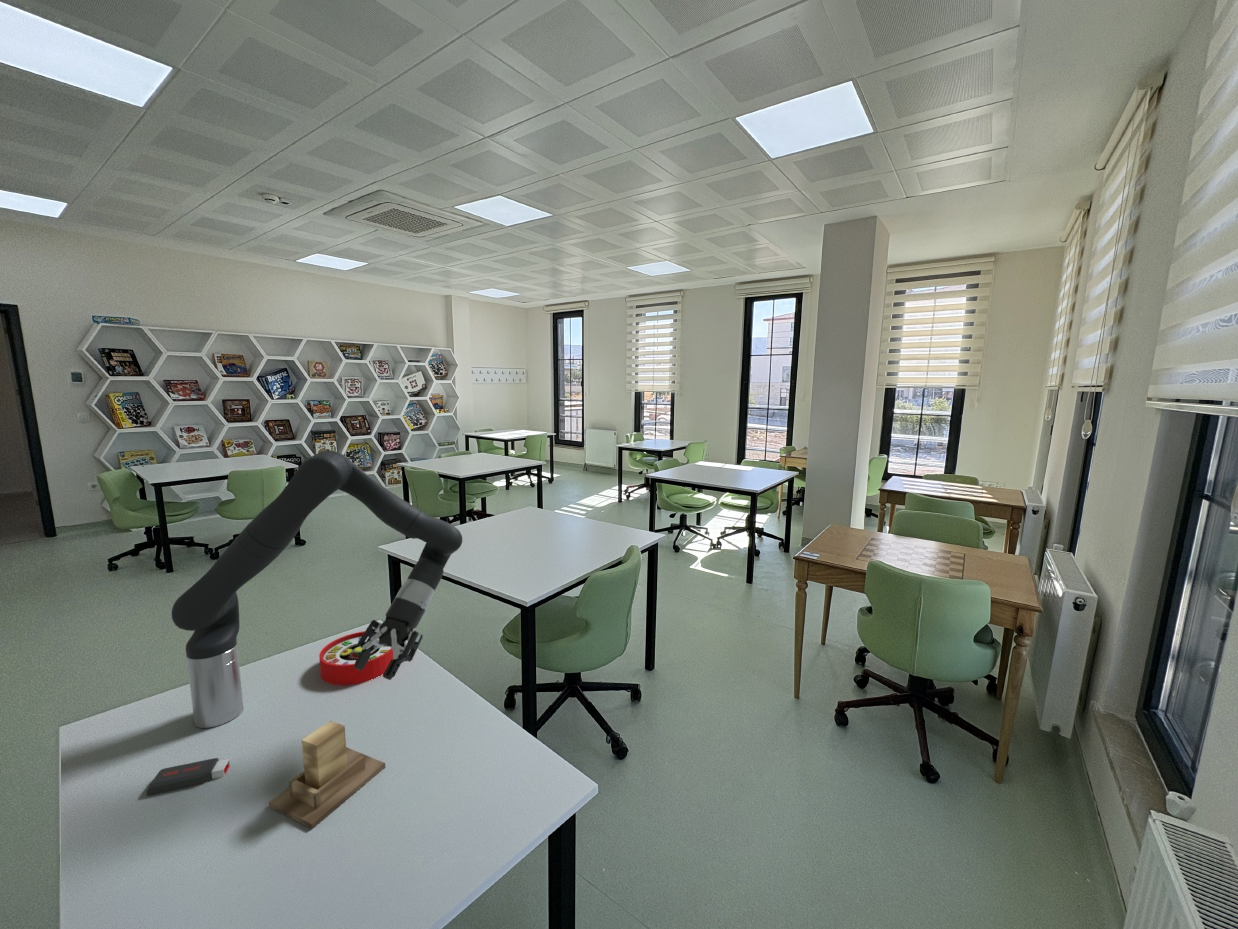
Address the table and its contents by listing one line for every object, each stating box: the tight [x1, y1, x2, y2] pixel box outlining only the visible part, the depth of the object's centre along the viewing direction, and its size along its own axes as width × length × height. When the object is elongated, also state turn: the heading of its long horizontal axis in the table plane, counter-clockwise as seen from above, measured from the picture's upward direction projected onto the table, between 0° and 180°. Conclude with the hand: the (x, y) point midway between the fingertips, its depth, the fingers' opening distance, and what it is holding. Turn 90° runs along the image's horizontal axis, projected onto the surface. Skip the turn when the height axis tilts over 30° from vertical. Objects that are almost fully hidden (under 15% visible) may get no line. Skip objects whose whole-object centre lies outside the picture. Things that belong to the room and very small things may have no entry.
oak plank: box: [301, 720, 348, 790], centre depth 96 cm, size 4×6×11 cm, turn 159°
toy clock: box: [318, 630, 394, 686], centre depth 140 cm, size 20×6×20 cm
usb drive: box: [146, 757, 231, 797], centre depth 98 cm, size 5×12×3 cm, turn 111°
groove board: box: [268, 746, 386, 830], centre depth 97 cm, size 12×16×4 cm
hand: (372, 673), depth 104 cm, fingers open, 8 cm apart
